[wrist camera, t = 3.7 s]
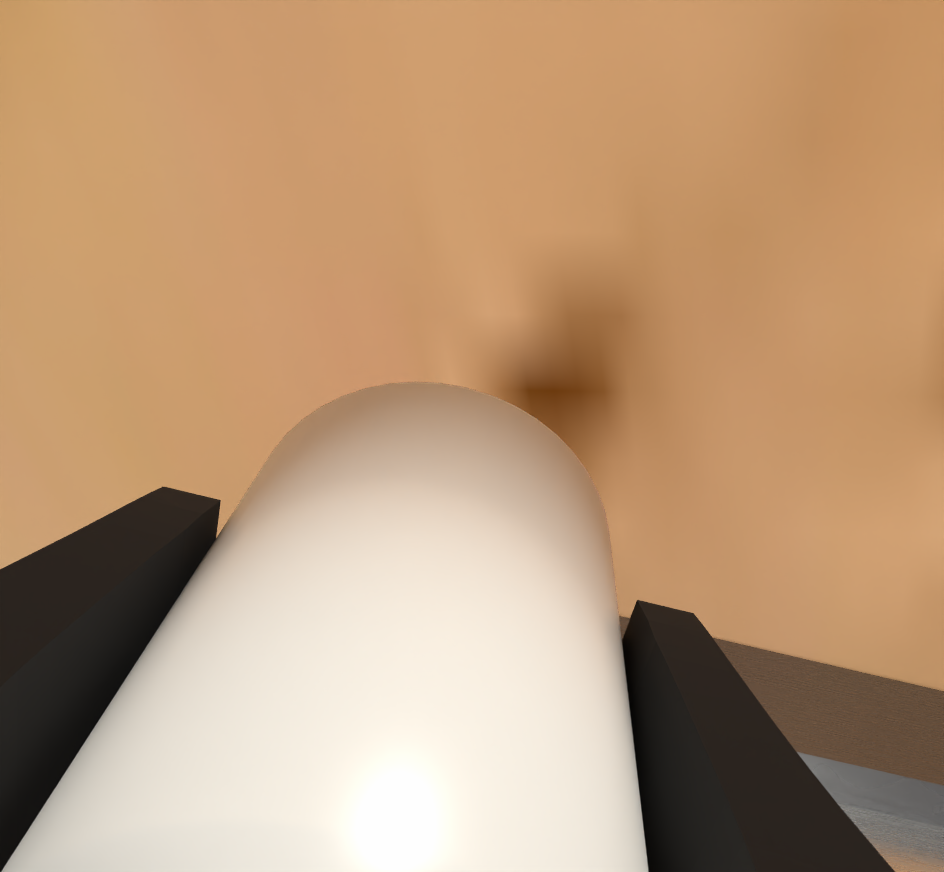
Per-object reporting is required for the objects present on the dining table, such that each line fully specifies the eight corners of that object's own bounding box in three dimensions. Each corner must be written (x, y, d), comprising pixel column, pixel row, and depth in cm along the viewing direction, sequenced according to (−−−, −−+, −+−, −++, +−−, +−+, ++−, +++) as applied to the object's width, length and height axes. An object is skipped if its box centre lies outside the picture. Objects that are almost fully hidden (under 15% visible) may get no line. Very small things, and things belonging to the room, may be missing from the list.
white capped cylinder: (658, 434, 10) (851, 1162, 4) (555, 725, 12) (561, 1540, 5) (273, 340, 10) (-234, 923, 3) (230, 648, 12) (-145, 1390, 5)
